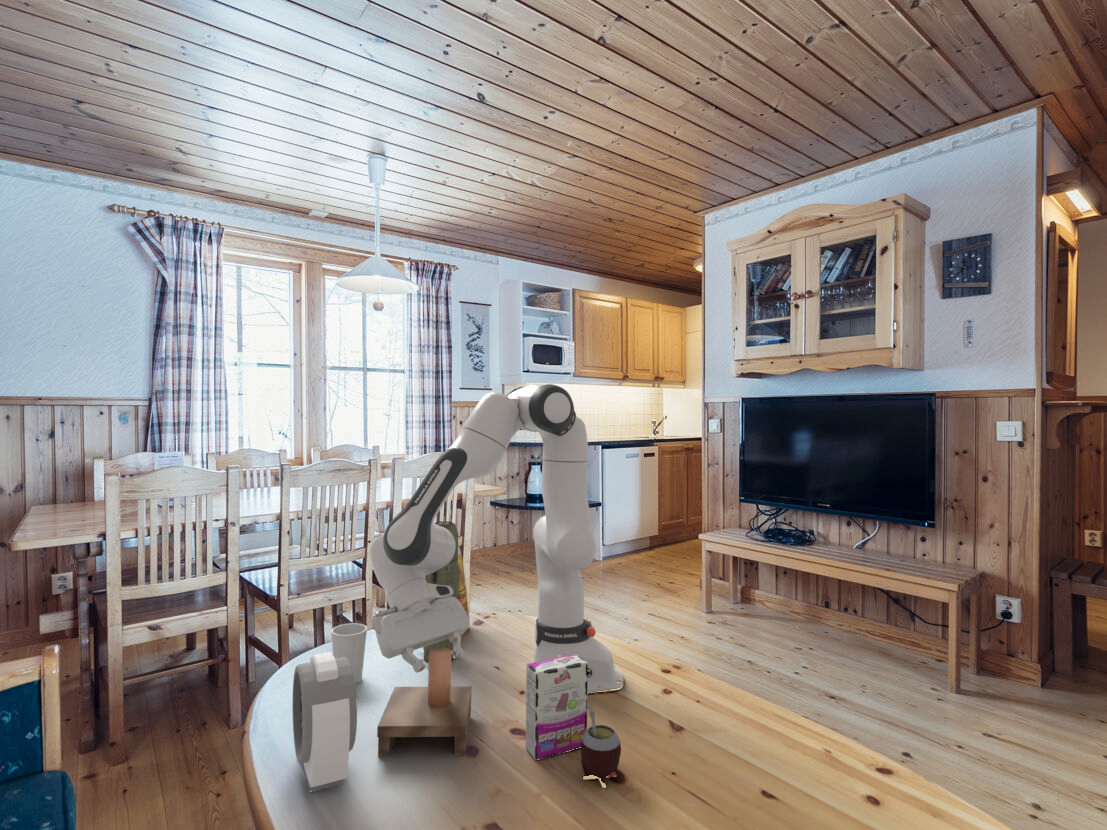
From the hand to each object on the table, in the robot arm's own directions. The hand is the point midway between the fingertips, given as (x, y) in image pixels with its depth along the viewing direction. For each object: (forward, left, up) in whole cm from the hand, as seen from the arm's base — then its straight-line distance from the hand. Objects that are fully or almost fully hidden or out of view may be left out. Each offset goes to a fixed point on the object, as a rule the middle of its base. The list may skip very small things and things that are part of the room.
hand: (440, 663), depth 119 cm
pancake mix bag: (+2, -54, -14) cm, 56 cm away
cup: (+24, -24, -14) cm, 37 cm away
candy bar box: (-23, +6, -14) cm, 28 cm away
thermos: (+4, -37, -14) cm, 40 cm away
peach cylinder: (0, 0, -8) cm, 8 cm away
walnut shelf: (+2, +1, -14) cm, 14 cm away
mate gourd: (-30, +16, -14) cm, 37 cm away
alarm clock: (+19, +12, -14) cm, 27 cm away
